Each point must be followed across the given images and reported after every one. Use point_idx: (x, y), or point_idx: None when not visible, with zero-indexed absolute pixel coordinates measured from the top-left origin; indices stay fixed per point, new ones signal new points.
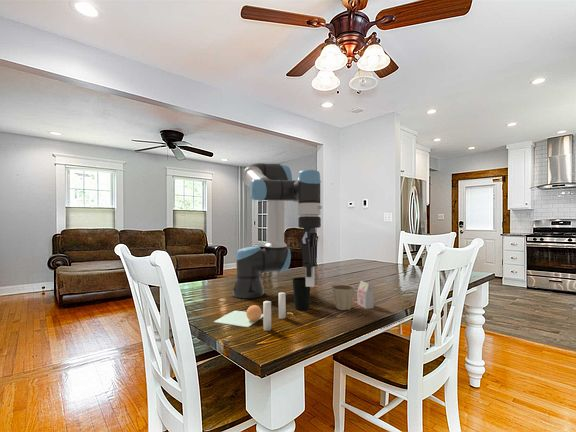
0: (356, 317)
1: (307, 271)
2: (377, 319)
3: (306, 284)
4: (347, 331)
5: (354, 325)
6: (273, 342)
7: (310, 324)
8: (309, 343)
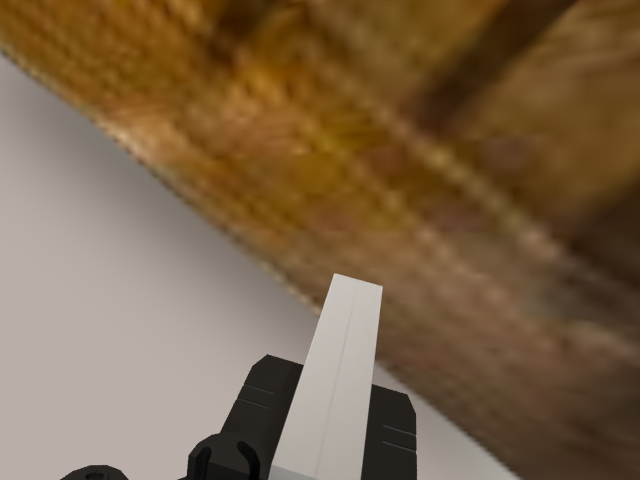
0: (555, 409)
1: (229, 426)
2: (519, 476)
3: (328, 293)
4: None
5: (432, 380)
6: (150, 5)
7: (436, 181)
8: (191, 186)
